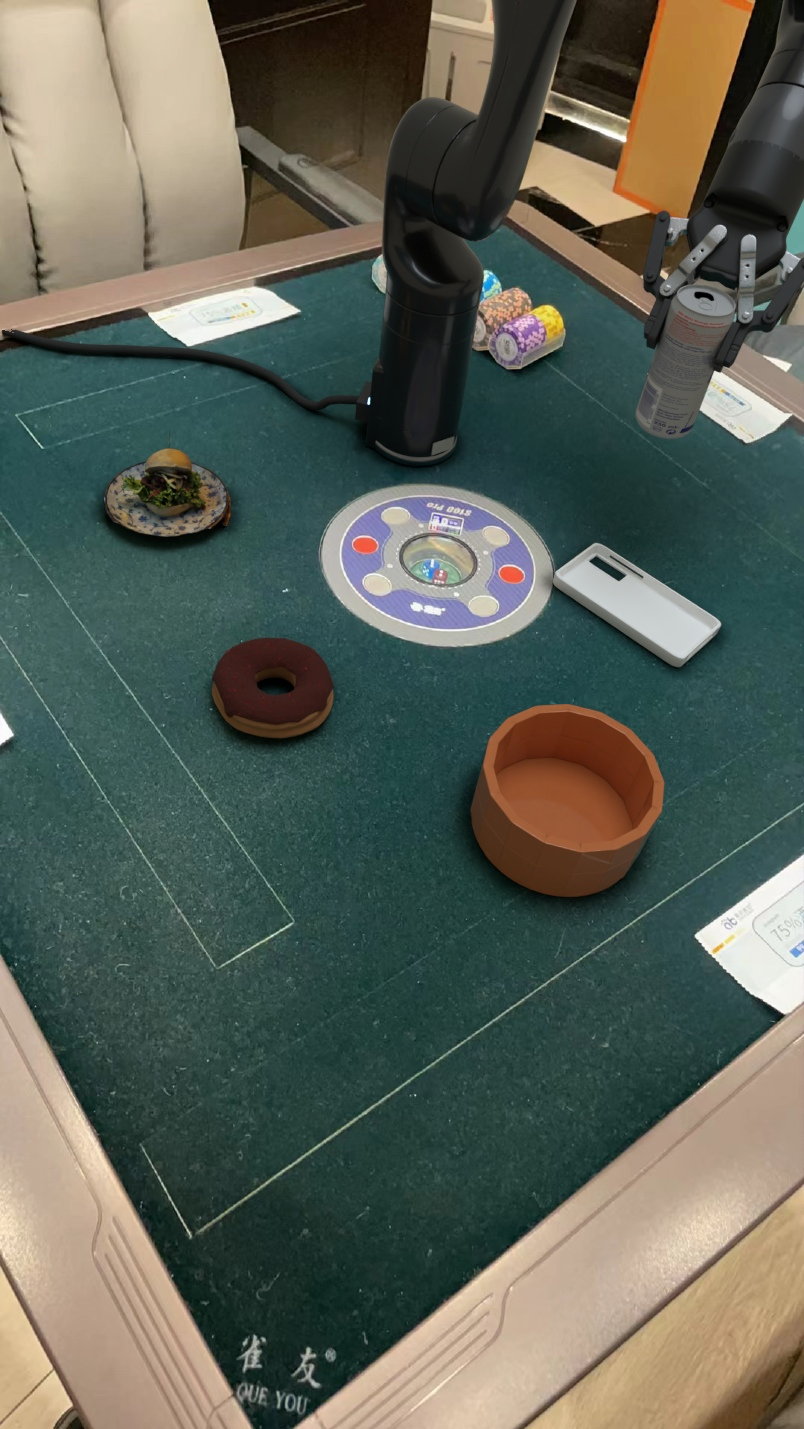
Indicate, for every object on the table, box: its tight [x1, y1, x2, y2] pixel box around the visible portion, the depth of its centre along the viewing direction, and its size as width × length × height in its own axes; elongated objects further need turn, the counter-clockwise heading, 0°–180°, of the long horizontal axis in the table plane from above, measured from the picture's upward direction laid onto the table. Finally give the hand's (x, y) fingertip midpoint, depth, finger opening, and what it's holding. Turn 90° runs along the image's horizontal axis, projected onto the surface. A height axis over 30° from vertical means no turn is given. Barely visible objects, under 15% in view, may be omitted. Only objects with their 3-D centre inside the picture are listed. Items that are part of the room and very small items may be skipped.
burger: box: [103, 428, 232, 538], centre depth 100 cm, size 12×12×8 cm
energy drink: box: [634, 283, 737, 440], centre depth 91 cm, size 5×5×12 cm
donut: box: [211, 637, 335, 739], centre depth 87 cm, size 10×10×4 cm
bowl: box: [470, 703, 665, 898], centre depth 81 cm, size 14×14×6 cm
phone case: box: [552, 542, 722, 668], centre depth 100 cm, size 7×1×15 cm
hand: (683, 356), depth 89 cm, fingers closed on energy drink, 5 cm apart
